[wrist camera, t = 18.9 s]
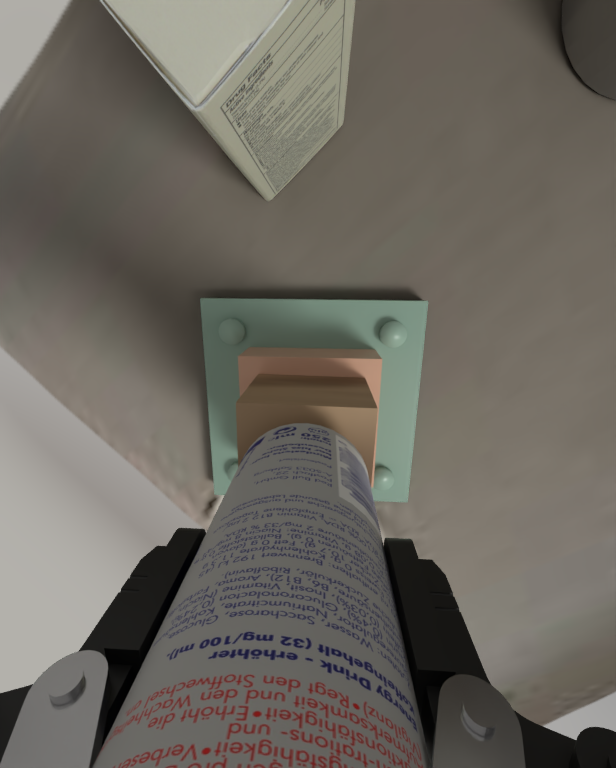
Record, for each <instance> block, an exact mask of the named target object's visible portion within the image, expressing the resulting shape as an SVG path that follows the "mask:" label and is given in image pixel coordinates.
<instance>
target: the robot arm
mask: <svg viewBox="0 0 616 768" xmlns="http://www.w3.org/2000/svg"><path fill="white" fill-rule="evenodd" d="M562 33H563V38H564V44H565V49H566V52H567V54H568V57H569V59H570V61H571V64H572V66H573V68H574V70H575V71H576V72H577V74H578V75H579V76H580V77H581V79H582V80H583V81H584V83H585V84H587V85H588V86H589V87H591V88H592V89H593V90H595V91H596V92H597V93H599V94H601V95H603V96H606V97H608V98H611V99H614V100H616V0H563V2H562ZM205 535H206V532H205V530H204V529H191V528H178V529H177V530H176V532H175V533H174V535H173V537H172V538H171V540H170V541H169V543H168V544H167V546H157V547H155V548H154V549H153V550H152V551H151V552H149V553H148V554H147V555H146V556H144V557H143V558H142V559H141V560H140V562H139V563H138V565H137V566H136V568H135V569H134V571H133V572H132V574H131V575H130V579H128V580H127V581H126V583H125V584H124V586H123V587H122V588H121V592H120V593H118V594H117V596H116V597H115V599H114V600H113V602H112V603H111V605H110V606H109V608H108V609H107V611H106V612H105V613H104V615H103V617H102V618H101V619H100V621H99V622H98V624H97V625H96V627H95V628H94V630H93V631H92V633H91V634H90V636H89V637H88V639H87V640H86V642H85V643H84V645H83V646H82V647H81V649H80V650H79V651H78V652H76V653H73V654H70V655H68V656H66V657H64V658H62V659H61V660H59V661H57V662H56V663H54V664H53V665H52V666H51V667H49V668H48V669H47V670H46V671H45V672H44V673H43V674H42V675H41V676H40V677H39V678H38V679H37V680H36V682H35V683H34V684H32V685H29V686H26V687H22V688H19V689H15V690H11V691H8V692H4V693H0V768H92V767H93V765H94V763H95V761H96V759H97V756H98V754H99V752H100V750H101V748H102V746H103V744H104V742H105V740H106V738H107V736H108V734H109V732H110V730H111V728H112V726H113V724H114V722H115V720H116V717H117V715H118V713H119V711H120V709H121V707H122V705H123V703H124V701H125V699H126V697H127V695H128V693H129V691H130V689H131V687H132V685H133V683H134V681H135V678H136V676H137V674H138V672H139V670H140V668H141V666H142V664H143V662H144V660H145V658H146V656H147V654H148V652H149V650H150V648H151V646H152V644H153V642H154V639H155V637H156V635H157V633H158V631H159V629H160V627H161V625H162V623H163V621H164V619H165V617H166V615H167V613H168V611H169V609H170V607H171V605H172V603H173V600H174V598H175V596H176V594H177V592H178V590H179V588H180V586H181V584H182V582H183V580H184V578H185V576H186V574H187V572H188V570H189V568H190V566H191V564H192V561H193V559H194V557H195V555H196V553H197V551H198V549H199V547H200V545H201V543H202V541H203V539H204V537H205ZM384 551H385V556H386V561H387V565H388V570H389V575H390V579H391V584H392V589H393V593H394V598H395V603H396V607H397V612H398V617H399V621H400V626H401V631H402V636H403V640H404V645H405V650H406V654H407V659H408V664H409V668H410V673H411V678H412V682H413V687H414V692H415V696H416V701H417V706H418V710H419V715H420V720H421V724H422V729H423V734H424V738H425V743H426V748H427V752H428V757H429V762H430V766H431V768H616V732H614V731H612V730H609V729H605V728H600V727H589V728H587V729H584V730H583V731H582V732H580V734H579V736H578V737H577V740H574V739H571V738H569V737H567V736H564V735H561V734H559V733H557V732H555V731H552V730H550V729H547V728H545V727H543V726H540V725H538V724H536V723H534V722H532V721H530V720H528V719H526V718H524V717H523V716H521V715H520V714H518V713H517V712H516V711H514V710H513V709H512V707H511V705H510V704H509V703H508V701H507V700H506V699H505V698H504V696H503V695H502V694H501V693H500V692H499V691H498V690H496V689H495V688H494V687H493V686H492V685H491V684H490V682H489V680H488V678H487V676H486V674H485V671H484V669H483V666H482V664H481V661H480V659H479V657H478V654H477V652H476V649H475V647H474V644H473V642H472V639H471V637H470V634H469V632H468V629H467V627H466V624H465V622H464V619H463V617H462V615H461V612H459V607H458V605H457V602H456V600H455V597H453V592H452V590H451V587H450V585H449V582H448V580H447V578H446V575H445V574H444V573H443V572H442V571H441V569H440V568H439V567H438V566H437V565H436V564H435V563H434V562H433V560H426V559H418V556H417V553H416V550H415V547H414V544H413V541H412V540H411V539H399V538H385V540H384Z"/></svg>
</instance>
